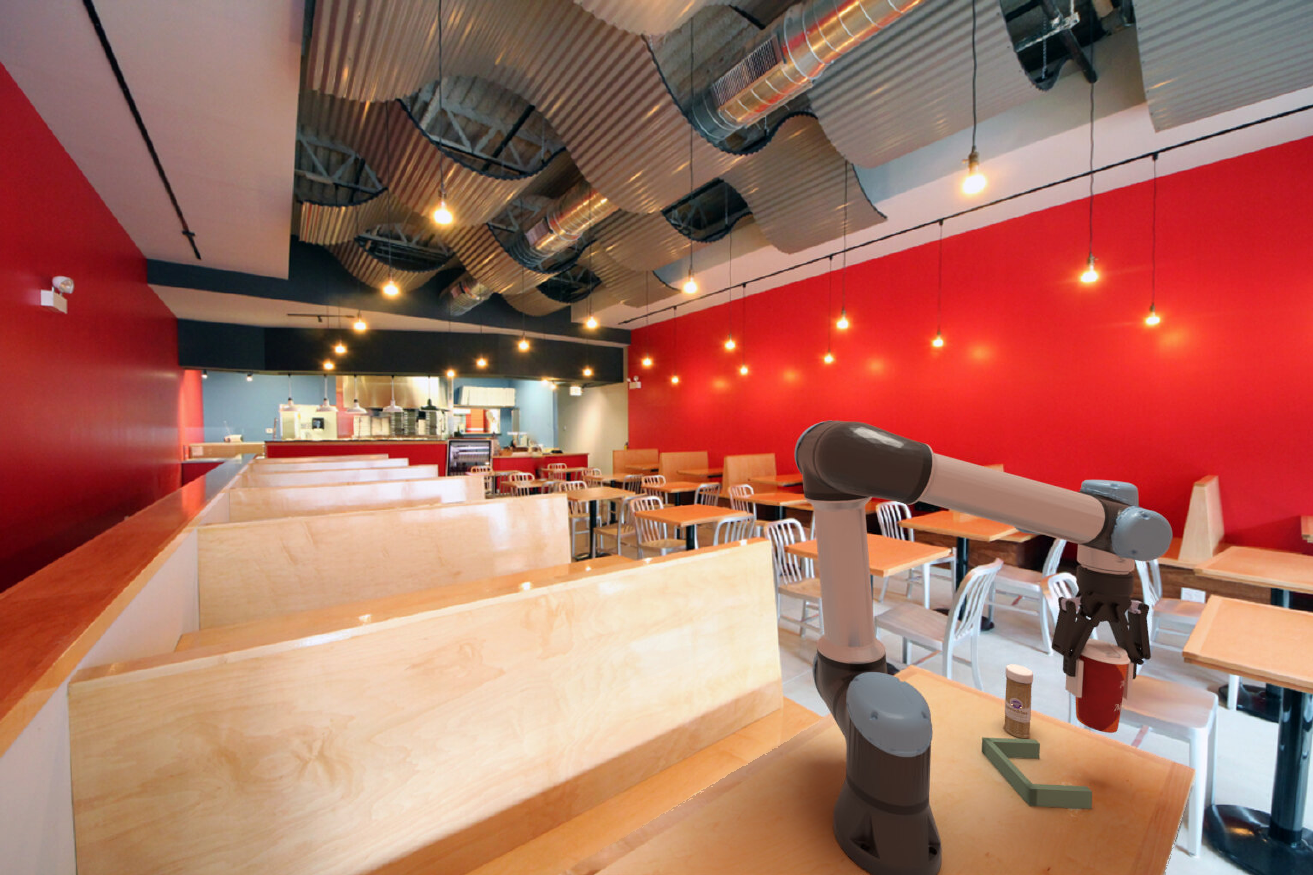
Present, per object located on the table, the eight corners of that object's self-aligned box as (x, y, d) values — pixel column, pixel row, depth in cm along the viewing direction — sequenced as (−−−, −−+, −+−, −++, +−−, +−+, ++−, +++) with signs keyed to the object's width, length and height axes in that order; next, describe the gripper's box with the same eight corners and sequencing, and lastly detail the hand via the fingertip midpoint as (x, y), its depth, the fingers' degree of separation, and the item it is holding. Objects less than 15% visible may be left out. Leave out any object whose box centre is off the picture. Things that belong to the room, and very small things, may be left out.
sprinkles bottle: (1004, 734, 102) (1007, 670, 102) (1002, 722, 106) (1004, 661, 106) (1032, 741, 100) (1034, 676, 99) (1029, 729, 104) (1031, 666, 103)
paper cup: (1137, 739, 84) (1142, 658, 84) (1085, 733, 86) (1090, 653, 85) (1106, 713, 92) (1110, 638, 91) (1058, 707, 93) (1062, 634, 93)
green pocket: (1029, 805, 83) (1030, 788, 83) (981, 752, 97) (982, 737, 97) (1091, 808, 83) (1092, 791, 83) (1035, 754, 96) (1035, 739, 96)
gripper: (1060, 572, 84) (1053, 703, 85) (1187, 577, 83) (1179, 709, 84) (1029, 560, 92) (1023, 680, 93) (1146, 563, 91) (1139, 685, 92)
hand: (1097, 694), depth 89 cm, fingers closed on paper cup, 8 cm apart
